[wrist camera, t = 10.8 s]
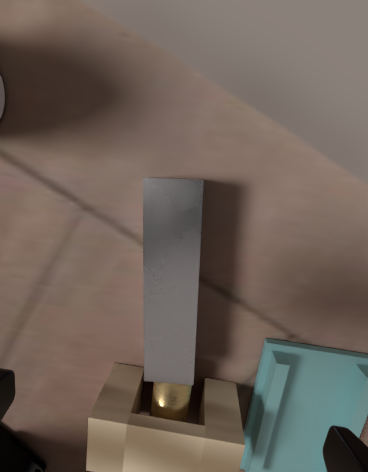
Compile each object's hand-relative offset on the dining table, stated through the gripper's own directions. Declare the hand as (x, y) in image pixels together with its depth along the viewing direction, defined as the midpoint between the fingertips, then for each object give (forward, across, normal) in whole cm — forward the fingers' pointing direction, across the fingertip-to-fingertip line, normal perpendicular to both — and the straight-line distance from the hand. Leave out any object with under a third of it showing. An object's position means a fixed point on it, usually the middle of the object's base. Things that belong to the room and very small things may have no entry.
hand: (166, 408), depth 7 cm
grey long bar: (+10, +1, 0) cm, 10 cm away
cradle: (+10, -9, +9) cm, 16 cm away
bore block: (+10, 0, +10) cm, 14 cm away
